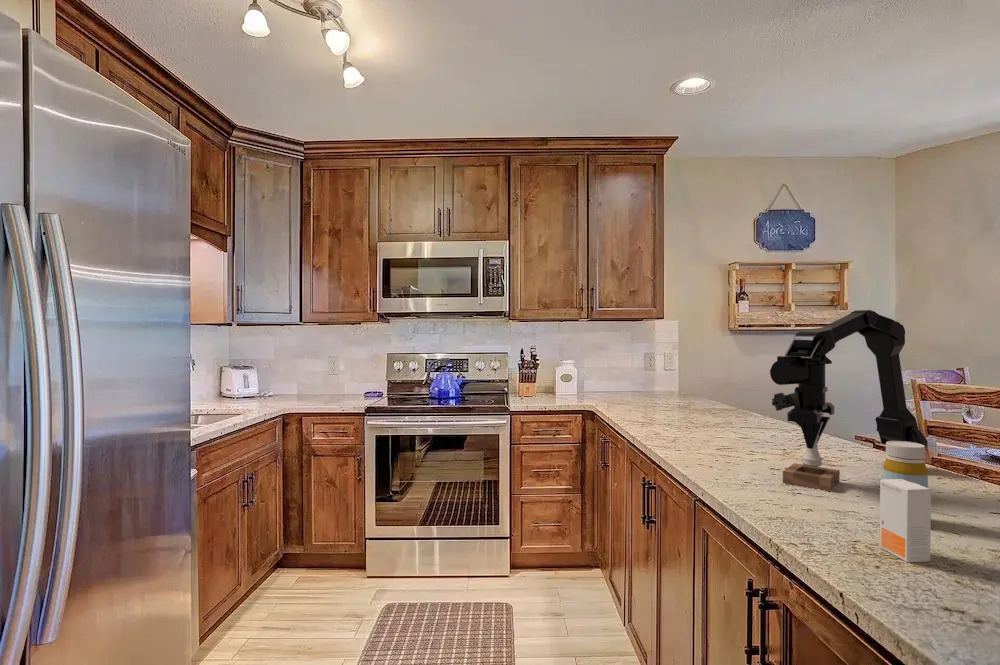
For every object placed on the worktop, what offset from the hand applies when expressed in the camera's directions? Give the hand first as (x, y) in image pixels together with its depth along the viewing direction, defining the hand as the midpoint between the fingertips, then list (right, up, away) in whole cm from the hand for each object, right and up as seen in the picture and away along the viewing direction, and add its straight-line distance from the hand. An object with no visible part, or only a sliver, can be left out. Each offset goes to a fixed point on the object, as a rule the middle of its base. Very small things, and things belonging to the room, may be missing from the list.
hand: (811, 447), depth 132 cm
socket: (0, -9, 0) cm, 9 cm away
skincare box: (-8, -10, -41) cm, 43 cm away
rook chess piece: (0, -5, 0) cm, 5 cm away
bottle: (+4, -9, -25) cm, 27 cm away
